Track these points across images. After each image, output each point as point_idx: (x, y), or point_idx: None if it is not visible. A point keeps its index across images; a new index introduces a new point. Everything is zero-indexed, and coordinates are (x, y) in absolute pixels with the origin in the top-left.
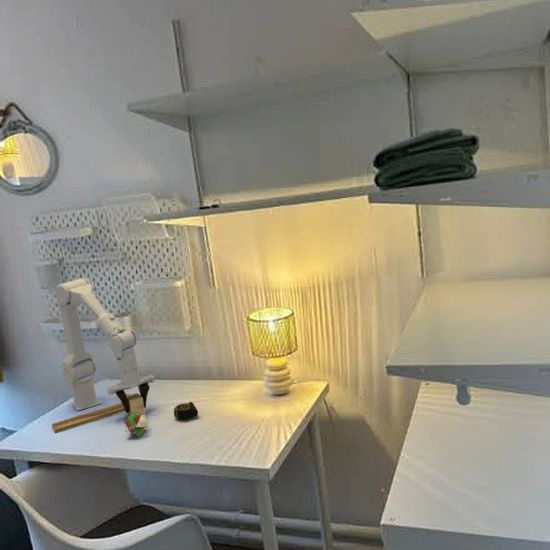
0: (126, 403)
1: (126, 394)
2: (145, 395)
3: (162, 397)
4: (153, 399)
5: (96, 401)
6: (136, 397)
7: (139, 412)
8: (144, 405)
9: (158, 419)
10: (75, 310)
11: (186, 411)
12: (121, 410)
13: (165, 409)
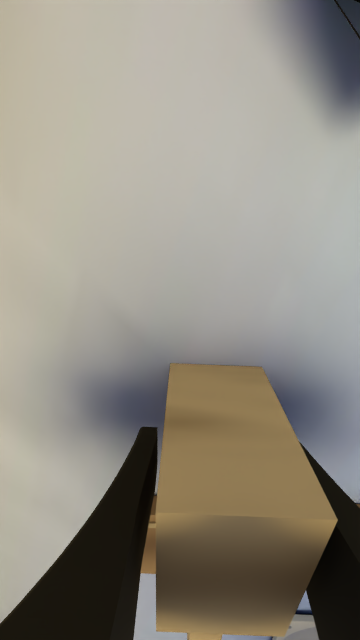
0: (341, 518)
1: (213, 636)
2: (99, 537)
3: (16, 508)
4: (66, 517)
5: (289, 635)
6: (213, 557)
7: (213, 387)
8: (149, 440)
9: (111, 201)
10: None
11: None
12: None
13: (22, 350)
